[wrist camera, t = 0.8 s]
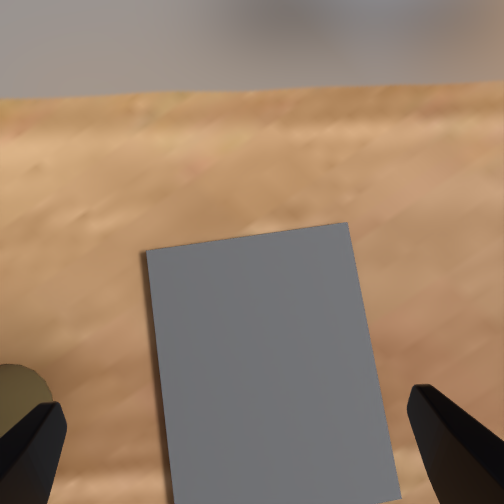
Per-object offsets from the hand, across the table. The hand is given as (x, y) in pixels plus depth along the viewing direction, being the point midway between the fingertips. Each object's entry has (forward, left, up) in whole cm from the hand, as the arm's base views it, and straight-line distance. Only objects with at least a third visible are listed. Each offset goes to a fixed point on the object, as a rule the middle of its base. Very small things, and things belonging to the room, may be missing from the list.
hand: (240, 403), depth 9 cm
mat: (-2, -2, -15) cm, 16 cm away
